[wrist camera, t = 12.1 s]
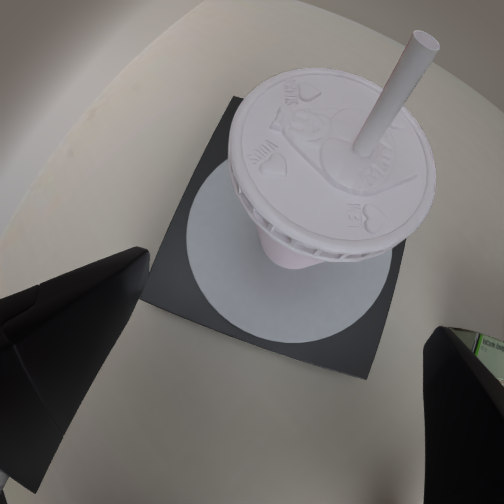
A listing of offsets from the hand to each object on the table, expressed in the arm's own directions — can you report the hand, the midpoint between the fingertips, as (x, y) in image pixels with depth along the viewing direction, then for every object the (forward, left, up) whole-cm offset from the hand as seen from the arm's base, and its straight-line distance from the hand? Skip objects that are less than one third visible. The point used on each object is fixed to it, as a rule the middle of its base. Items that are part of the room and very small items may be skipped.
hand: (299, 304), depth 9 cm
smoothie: (+4, 0, -8) cm, 9 cm away
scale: (+6, 0, -11) cm, 13 cm away
